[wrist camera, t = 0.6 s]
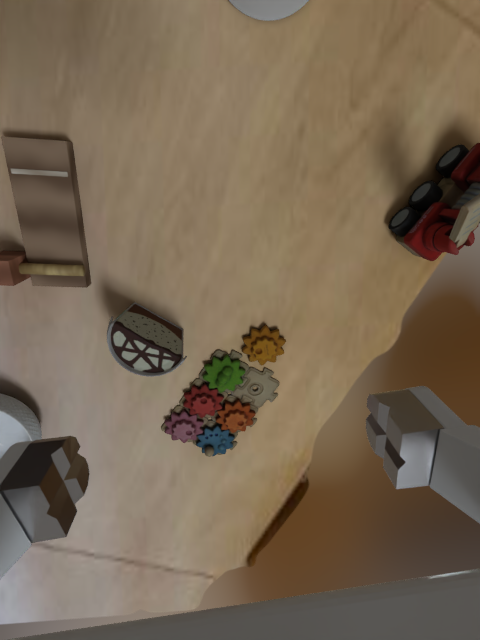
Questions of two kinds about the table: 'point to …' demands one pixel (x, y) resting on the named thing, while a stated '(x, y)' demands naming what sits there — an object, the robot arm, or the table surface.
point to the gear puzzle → (215, 401)
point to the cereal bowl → (16, 423)
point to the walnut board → (48, 206)
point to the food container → (145, 342)
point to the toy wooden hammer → (30, 268)
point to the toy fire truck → (443, 207)
